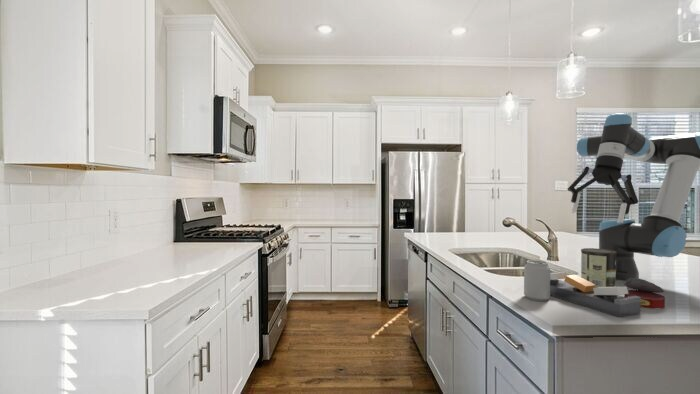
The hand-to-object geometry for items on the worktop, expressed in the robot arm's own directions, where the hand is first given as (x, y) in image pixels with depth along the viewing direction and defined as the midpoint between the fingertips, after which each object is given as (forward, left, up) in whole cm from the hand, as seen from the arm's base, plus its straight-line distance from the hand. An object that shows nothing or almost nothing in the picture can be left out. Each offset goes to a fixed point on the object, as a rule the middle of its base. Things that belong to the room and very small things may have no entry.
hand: (596, 217), depth 122 cm
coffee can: (-6, -3, -26) cm, 27 cm away
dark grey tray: (+11, +3, -26) cm, 28 cm away
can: (+22, -4, -26) cm, 35 cm away
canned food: (-5, +12, -26) cm, 29 cm away
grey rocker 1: (+11, -7, -21) cm, 25 cm away
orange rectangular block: (+11, +3, -21) cm, 24 cm away
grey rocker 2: (+11, +12, -21) cm, 26 cm away
